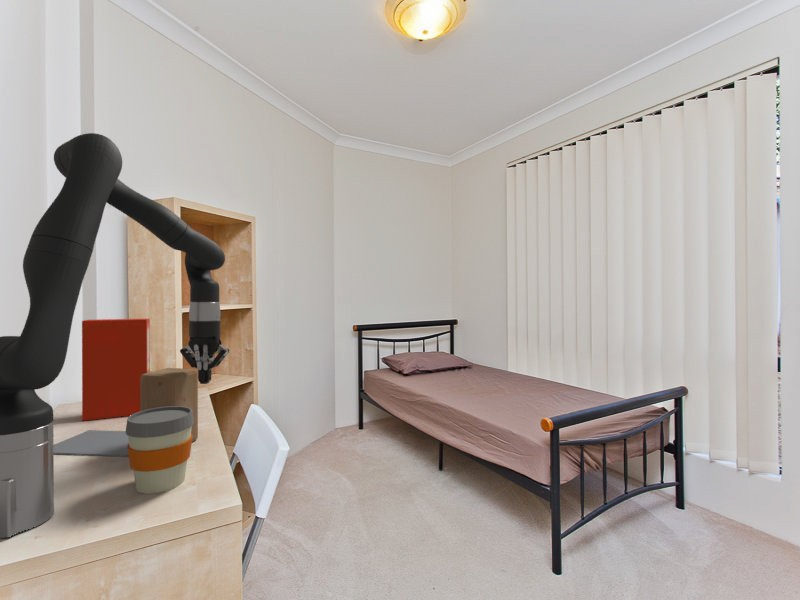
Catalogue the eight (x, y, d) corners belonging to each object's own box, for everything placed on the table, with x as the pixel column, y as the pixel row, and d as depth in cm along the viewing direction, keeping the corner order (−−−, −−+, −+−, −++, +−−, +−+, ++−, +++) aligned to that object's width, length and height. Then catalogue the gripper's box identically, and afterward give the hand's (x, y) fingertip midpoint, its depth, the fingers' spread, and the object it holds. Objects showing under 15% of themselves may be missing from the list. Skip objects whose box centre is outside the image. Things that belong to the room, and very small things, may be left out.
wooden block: (171, 454, 99) (171, 375, 99) (138, 450, 101) (138, 374, 101) (199, 439, 109) (199, 368, 109) (168, 436, 111) (168, 366, 111)
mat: (126, 456, 98) (126, 454, 97) (35, 453, 99) (35, 452, 99) (167, 433, 113) (167, 432, 113) (89, 431, 115) (89, 430, 115)
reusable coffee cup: (186, 465, 93) (186, 402, 93) (200, 484, 84) (200, 415, 83) (122, 481, 85) (121, 413, 84) (130, 505, 75) (129, 428, 75)
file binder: (89, 414, 131) (88, 319, 130) (149, 408, 138) (149, 318, 138) (82, 421, 123) (81, 320, 123) (146, 414, 131) (146, 319, 131)
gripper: (172, 319, 101) (172, 386, 101) (221, 320, 100) (221, 387, 100) (189, 317, 108) (189, 379, 108) (235, 318, 107) (235, 380, 108)
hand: (204, 383), depth 104 cm, fingers closed
